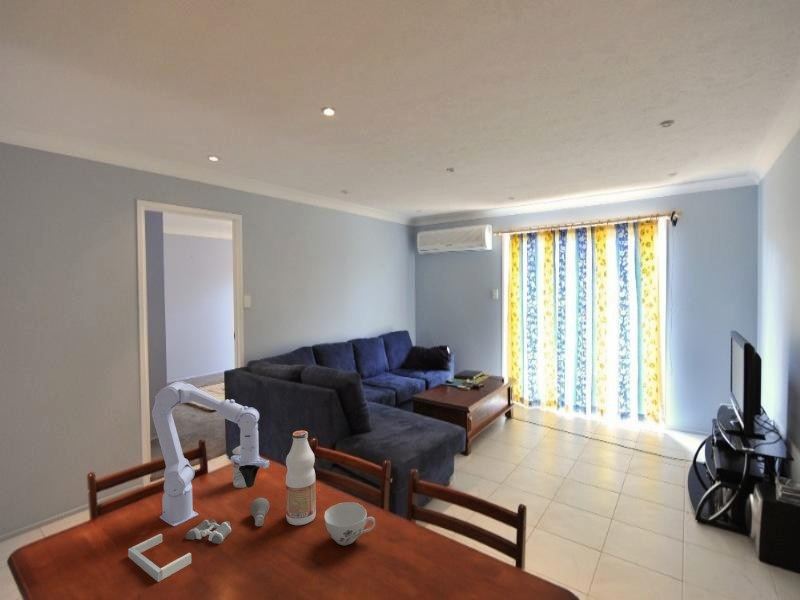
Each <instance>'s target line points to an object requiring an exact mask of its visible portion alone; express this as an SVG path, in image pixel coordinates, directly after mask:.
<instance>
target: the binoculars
mask: <svg viewBox="0 0 800 600" xmlns="http://www.w3.org/2000/svg"><path fill="white" fill-rule="evenodd" d="M213 529H214V530H213ZM212 530H213V531H212ZM231 532H232V528H231V522H230V521H228V520H225V521H223V522H222V523H221V524H218V521H217V520H216V519H211V520H208V519H204V520H203V521H202V522H200V524H198V525H197V526H195V527H193V528H191V529H190V530H188V531H187V532H186V534H185V539H186V540H192V541H195V540H196V539H197V540H202V539H203V538H204V537H206V536H208V541H209V542H212V544H218V545H220V544H222V543H223V542H224V540H225V539H227V537H228V535H230V533H231Z"/></svg>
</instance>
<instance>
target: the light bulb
mask: <svg viewBox="0 0 800 600" xmlns="http://www.w3.org/2000/svg"><path fill="white" fill-rule="evenodd" d="M269 509H270V502H269V501H268V499H266V498H264V497H257V498H255V499H254V500H253V501H252V502H251V503H250V507H249V510H250V514H251V516H253V519H254V525H255V526H256V527H259V528H260V527H262V526H263V525H264V522H265V517H266V515H267V514H268V512H269Z"/></svg>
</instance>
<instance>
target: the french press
mask: <svg viewBox="0 0 800 600" xmlns="http://www.w3.org/2000/svg"><path fill="white" fill-rule="evenodd" d="M231 452H232V454H233V455H241V453H240V445H238V446H236V447H235V448H234V449H233V450H232V451H231ZM259 457H261V456H260V455H259ZM239 467H241V466H240V465H239V463H236V462H234V463H233V465H232V471H233V473H232V475H233V479H232V481H233V483H232V485H233V487H234V488H237V489H244V488H247V487H246V483H245V480H244V477H243V475H242V473H241V472H240V471H239ZM260 469H261V467H260V468H259V470H260Z"/></svg>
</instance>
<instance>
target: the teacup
mask: <svg viewBox="0 0 800 600" xmlns="http://www.w3.org/2000/svg"><path fill="white" fill-rule="evenodd" d="M367 513H368V511H367V510H366V508H365V507H364V506H363V505H362V504H359V503H358V502H351V501H349V502H348V501H347V502H340V503H337V504H335V505H331V506H330V507H329V508H327V509H326V510H325V512H324V517H323V518H324V522H325V528H326V530H327V534H328V535H329V536H330V537H331V538H332V539H333V540H334V541H335V542H336V543H337V544H338V545H341V546H348V545H350V544H353V543H354V542H355V541H356V540H357V539H358V538H359V537H360V536H361V535H362V534H365V533H368V532H371V531H372V530H373V529H374V528H375V526H376V519H375V517H373V516H368V514H367ZM367 516H368V517H367ZM368 522H372V525H371V526H370V527H367V528H366V529H365V527H366V525H367V523H368Z"/></svg>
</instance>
